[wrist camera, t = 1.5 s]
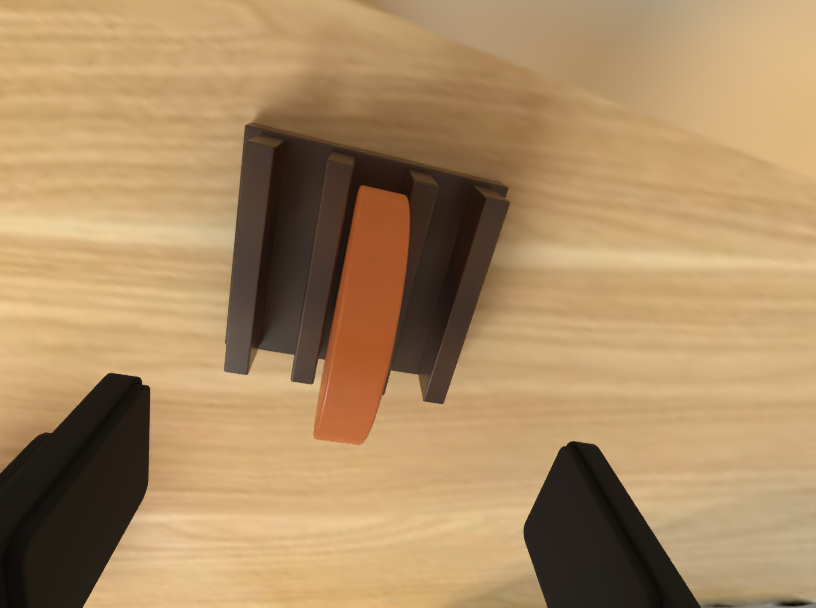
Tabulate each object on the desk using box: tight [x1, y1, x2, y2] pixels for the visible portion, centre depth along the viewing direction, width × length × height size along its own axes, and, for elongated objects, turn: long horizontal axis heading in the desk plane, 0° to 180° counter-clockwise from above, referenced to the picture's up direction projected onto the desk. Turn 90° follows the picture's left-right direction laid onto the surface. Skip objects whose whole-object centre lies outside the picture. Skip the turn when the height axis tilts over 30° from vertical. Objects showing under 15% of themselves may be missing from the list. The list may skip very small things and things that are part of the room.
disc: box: [314, 185, 410, 445], centre depth 17 cm, size 9×2×9 cm, turn 166°
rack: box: [224, 123, 510, 404], centre depth 20 cm, size 10×11×4 cm
